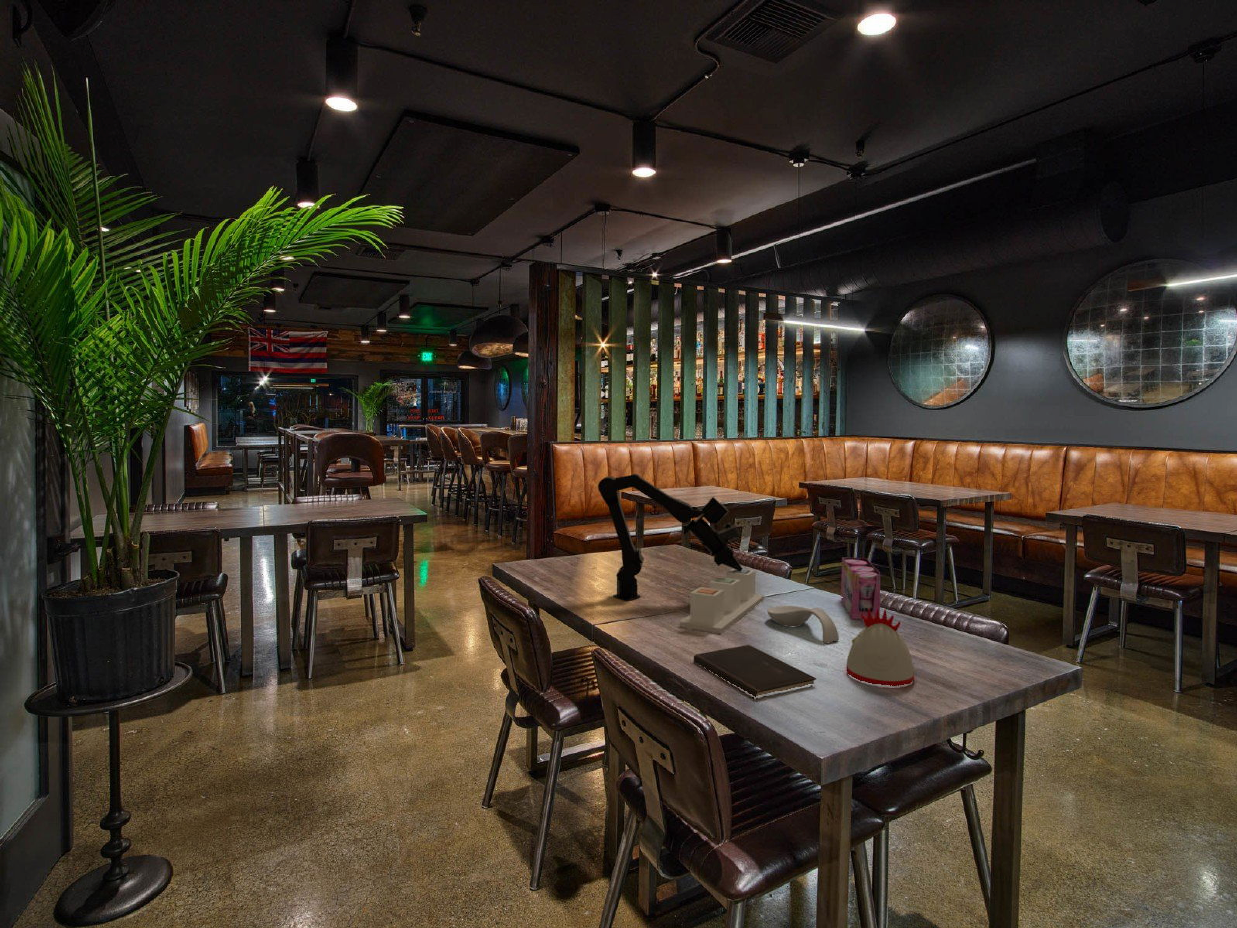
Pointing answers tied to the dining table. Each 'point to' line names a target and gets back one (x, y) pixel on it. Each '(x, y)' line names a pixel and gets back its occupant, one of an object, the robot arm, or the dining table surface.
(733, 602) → the button console
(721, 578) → the sage green button
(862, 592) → the gum box
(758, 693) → the hardcover book
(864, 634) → the tan and red dome
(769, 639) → the dining table surface
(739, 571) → the slate blue button
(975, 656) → the dining table surface
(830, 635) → the spoon rest
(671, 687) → the dining table surface
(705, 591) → the terracotta button
